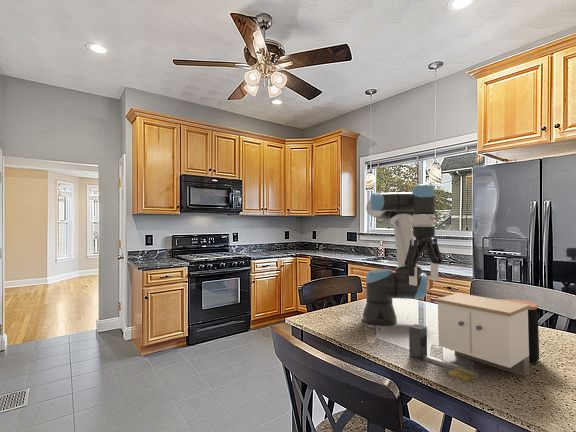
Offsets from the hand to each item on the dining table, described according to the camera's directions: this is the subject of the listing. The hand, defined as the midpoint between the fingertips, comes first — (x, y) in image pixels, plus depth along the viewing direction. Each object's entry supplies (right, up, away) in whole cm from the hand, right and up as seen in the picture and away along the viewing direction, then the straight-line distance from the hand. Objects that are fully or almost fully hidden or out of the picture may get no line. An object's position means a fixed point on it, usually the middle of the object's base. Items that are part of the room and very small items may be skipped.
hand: (424, 282), depth 119 cm
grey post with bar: (-3, -22, -19) cm, 29 cm away
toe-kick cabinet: (+9, -22, -21) cm, 31 cm away
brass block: (-1, -22, -27) cm, 35 cm away
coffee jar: (+25, -22, -14) cm, 36 cm away
